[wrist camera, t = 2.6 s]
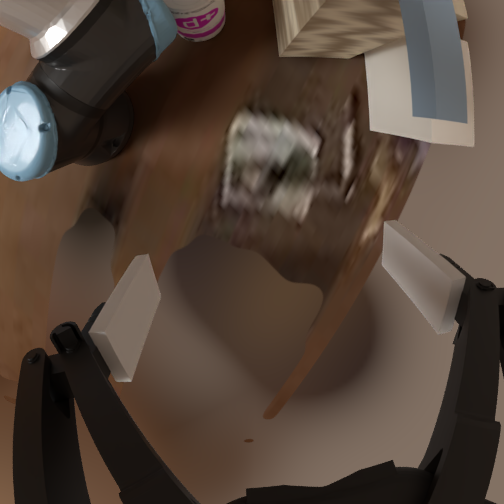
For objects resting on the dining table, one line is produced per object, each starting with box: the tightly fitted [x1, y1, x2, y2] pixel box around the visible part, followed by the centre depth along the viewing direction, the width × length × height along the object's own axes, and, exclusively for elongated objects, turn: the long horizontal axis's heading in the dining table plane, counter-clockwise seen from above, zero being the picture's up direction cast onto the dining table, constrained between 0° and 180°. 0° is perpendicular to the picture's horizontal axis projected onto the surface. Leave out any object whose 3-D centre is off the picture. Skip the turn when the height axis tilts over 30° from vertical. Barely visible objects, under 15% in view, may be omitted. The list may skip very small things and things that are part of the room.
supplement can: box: [163, 0, 226, 42], centre depth 30 cm, size 8×8×15 cm
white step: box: [364, 37, 474, 147], centre depth 34 cm, size 8×15×18 cm, turn 5°
